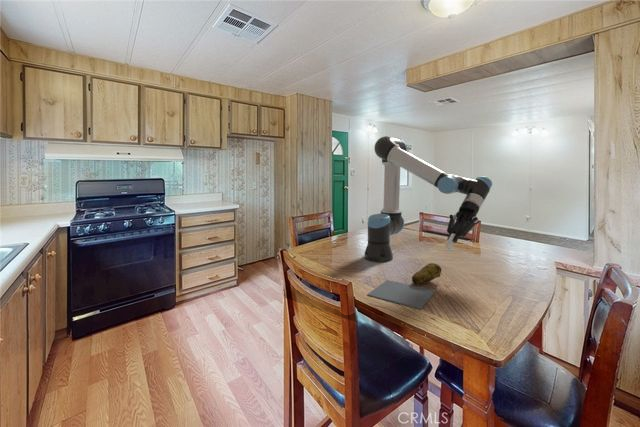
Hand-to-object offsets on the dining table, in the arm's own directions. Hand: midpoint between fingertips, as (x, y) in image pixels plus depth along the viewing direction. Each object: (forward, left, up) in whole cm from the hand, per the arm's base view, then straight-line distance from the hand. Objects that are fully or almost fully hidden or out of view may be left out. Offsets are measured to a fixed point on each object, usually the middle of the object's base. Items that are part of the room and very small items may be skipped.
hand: (447, 247), depth 122 cm
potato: (-6, -11, -14) cm, 18 cm away
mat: (-10, -27, -14) cm, 32 cm away
